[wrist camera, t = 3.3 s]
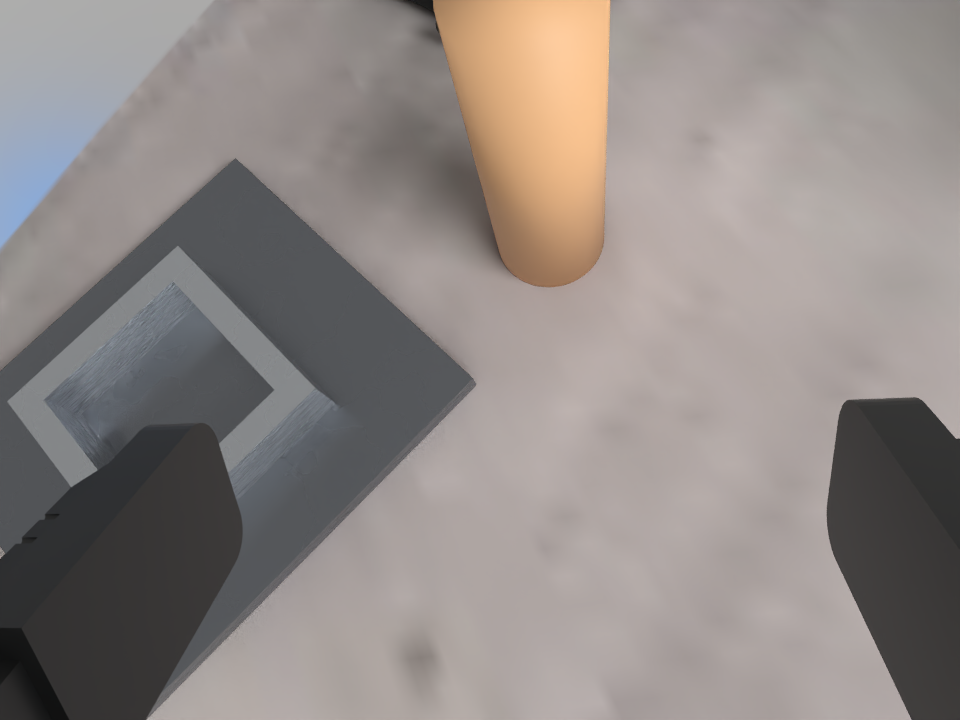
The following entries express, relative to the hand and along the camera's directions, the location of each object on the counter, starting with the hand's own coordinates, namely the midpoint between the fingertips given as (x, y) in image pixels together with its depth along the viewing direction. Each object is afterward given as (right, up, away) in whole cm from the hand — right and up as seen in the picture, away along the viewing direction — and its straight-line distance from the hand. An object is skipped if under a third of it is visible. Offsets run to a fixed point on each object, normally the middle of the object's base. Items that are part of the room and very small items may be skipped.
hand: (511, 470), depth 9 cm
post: (+2, +6, +18) cm, 19 cm away
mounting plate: (-11, -1, +18) cm, 21 cm away
